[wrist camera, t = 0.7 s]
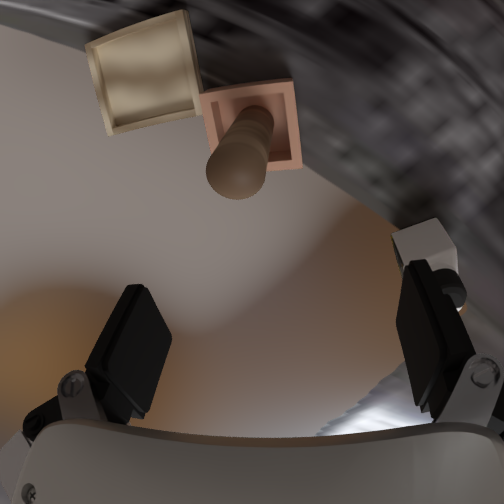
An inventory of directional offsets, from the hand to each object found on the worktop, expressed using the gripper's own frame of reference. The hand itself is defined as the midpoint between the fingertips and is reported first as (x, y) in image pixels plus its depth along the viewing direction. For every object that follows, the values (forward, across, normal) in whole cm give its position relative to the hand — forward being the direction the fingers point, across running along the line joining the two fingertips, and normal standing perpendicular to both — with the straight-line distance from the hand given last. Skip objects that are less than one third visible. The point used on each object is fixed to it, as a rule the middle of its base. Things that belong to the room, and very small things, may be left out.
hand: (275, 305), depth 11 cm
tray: (+26, +14, -10) cm, 31 cm away
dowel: (+26, +3, -1) cm, 26 cm away
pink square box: (+26, +3, -1) cm, 27 cm away
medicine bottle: (+27, -17, +17) cm, 36 cm away
